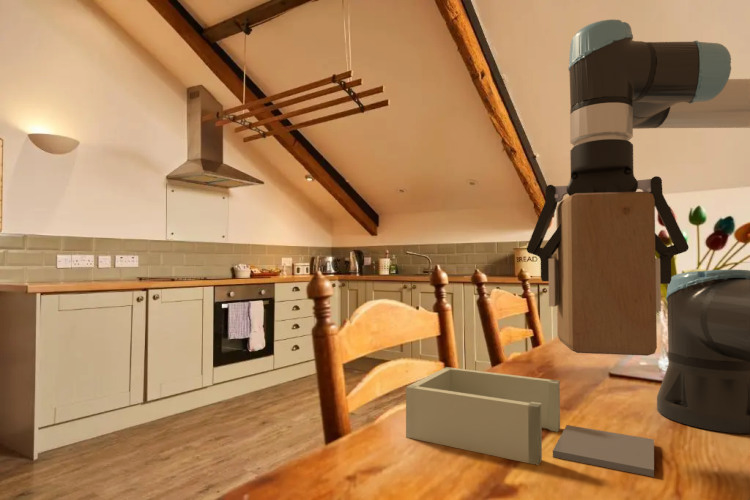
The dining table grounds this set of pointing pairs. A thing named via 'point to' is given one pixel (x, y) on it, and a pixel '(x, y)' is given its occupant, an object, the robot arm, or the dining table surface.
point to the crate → (484, 412)
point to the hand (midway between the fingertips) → (602, 308)
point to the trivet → (606, 450)
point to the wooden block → (607, 273)
